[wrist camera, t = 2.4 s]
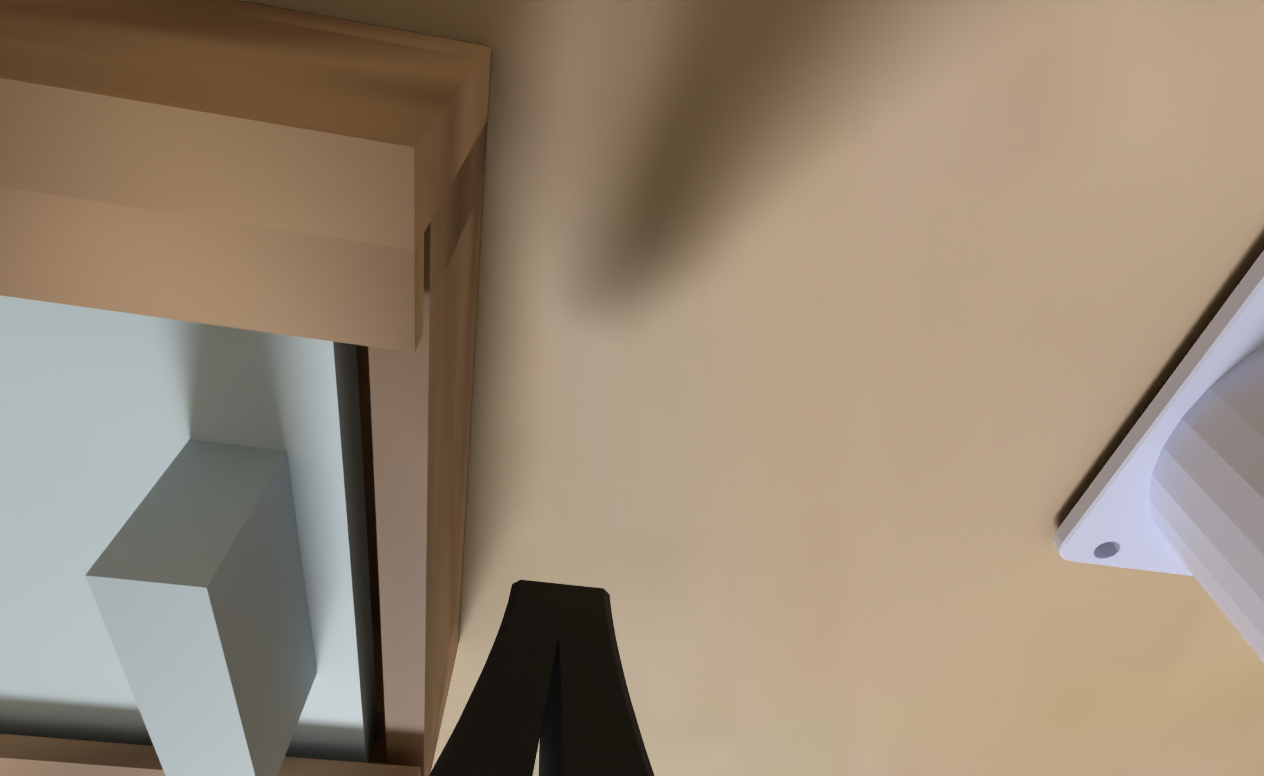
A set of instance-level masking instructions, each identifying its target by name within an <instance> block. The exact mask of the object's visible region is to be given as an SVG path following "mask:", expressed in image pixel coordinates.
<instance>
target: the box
mask: <svg viewBox="0 0 1264 776" xmlns="http://www.w3.org/2000/svg"><path fill="white" fill-rule="evenodd" d="M490 64H491V47H489V46H484V45H479V44H473V43H468V42H462V41H457V40H451V39H446V38H441V37H435V36H430V35H424V34H419V33H413V32H408V31H403V30H397V29H392V28H386V27H381V26H375V25H370V24H364V23H359V22H354V21H348V20H343V19H337V18H332V17H326V16H321V15H316V14H310V13H305V12H299V11H294V10H288V9H283V8H278V7H272V6H267V5H261V4H256V3H250V2H245V1H240V0H0V295H1V296H8V297H16V298H23V299H30V300H37V301H44V302H52V303H59V304H66V305H73V306H81V307H88V308H95V309H102V310H109V311H117V312H124V313H131V314H138V315H146V316H153V317H160V318H167V319H174V320H182V321H189V322H196V323H203V324H211V325H218V326H225V327H232V328H239V329H247V330H254V331H261V332H268V333H276V334H283V335H290V336H297V337H304V338H312V339H319V340H326V341H333V342H341V343H348V344H355V345H356V350H357V368H358V385H359V403H360V420H361V438H362V456H363V473H364V491H365V508H366V526H367V544H368V561H369V579H370V596H371V614H372V632H373V649H374V667H375V684H376V702H377V720H378V733H377V736H376V740H375V743H374V747H373V750H372V754H371V757H370V761H369V763H362V762H349V761H337V760H324V759H311V758H299V757H286V756H285V757H284V760H283V762H282V765H281V767H280V770H279V773H278V775H277V776H429V775H430V773H431V768H432V764H433V759H434V754H435V750H436V745H437V741H438V736H439V731H440V727H441V722H442V718H443V713H444V708H445V704H446V699H447V695H448V690H449V685H450V681H451V676H452V671H453V667H454V662H455V658H456V653H457V648H458V638H459V620H460V602H461V584H462V566H463V548H464V530H465V512H466V494H467V476H468V458H469V440H470V422H471V405H472V387H473V369H474V351H475V333H476V315H477V297H478V279H479V261H480V243H481V225H482V207H483V189H484V171H485V153H486V135H487V118H488V100H489V82H490ZM0 776H166V775H165V773H164V770H163V768H162V765H161V763H160V760H159V758H158V755H157V753H156V750H155V748H154V746H148V745H135V744H123V743H110V742H98V741H85V740H72V739H60V738H47V737H35V736H22V735H9V734H0Z"/></svg>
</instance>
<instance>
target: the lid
mask: <svg viewBox="0 0 1264 776" xmlns="http://www.w3.org/2000/svg"><path fill="white" fill-rule="evenodd" d="M377 733H378V720H377V702H376V684H375V667H374V649H373V632H372V614H371V596H370V579H369V561H368V544H367V526H366V508H365V491H364V473H363V456H362V438H361V420H360V403H359V385H358V368H357V350H356V345H355V344H348V343H341V342H333V341H326V340H319V339H312V338H304V337H297V336H290V335H283V334H276V333H268V332H261V331H254V330H247V329H239V328H232V327H225V326H218V325H211V324H203V323H196V322H189V321H182V320H174V319H167V318H160V317H153V316H146V315H138V314H131V313H124V312H117V311H109V310H102V309H95V308H88V307H81V306H73V305H66V304H59V303H52V302H44V301H37V300H30V299H23V298H16V297H8V296H1V295H0V734H9V735H22V736H35V737H47V738H60V739H72V740H85V741H98V742H110V743H123V744H135V745H148V746H154V748H155V750H156V753H157V755H158V758H159V760H160V763H161V765H162V768H163V770H164V773H165V775H166V776H277V775H278V773H279V770H280V767H281V765H282V762H283V760H284V757H285V756H286V757H299V758H311V759H324V760H337V761H349V762H362V763H369V761H370V757H371V754H372V750H373V747H374V743H375V740H376V736H377Z"/></svg>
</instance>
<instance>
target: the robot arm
mask: <svg viewBox="0 0 1264 776" xmlns="http://www.w3.org/2000/svg"><path fill="white" fill-rule="evenodd" d="M1053 545H1054V546H1055V548H1056V549H1057V551H1058V553H1059V554H1060V555H1061V556H1062V557H1063V558H1064V559H1065V560H1069V561H1073V562H1081V563H1089V564H1098V565H1106V566H1114V567H1123V568H1131V569H1139V570H1148V571H1156V572H1164V573H1173V574H1181V575H1189V576H1194V577H1195V578H1196V580H1197V581H1198V582H1199V583H1200V585H1201V586H1202V587H1203V588H1204V590H1205V591H1206V592H1207V593H1208V595H1209V596H1210V597H1211V598H1212V600H1213V601H1214V602H1215V603H1216V605H1217V606H1218V607H1219V608H1220V610H1221V611H1222V612H1223V613H1224V615H1225V616H1226V617H1227V618H1228V620H1229V621H1230V622H1231V623H1232V625H1233V626H1234V627H1235V628H1236V629H1237V631H1238V632H1239V633H1240V634H1241V636H1242V637H1243V638H1244V639H1245V641H1246V642H1247V643H1248V644H1249V646H1250V647H1251V648H1252V649H1253V651H1254V652H1255V653H1256V654H1257V656H1258V657H1259V658H1260V659H1261V661H1262V662H1263V663H1264V250H1263V252H1262V253H1261V254H1260V256H1259V257H1258V258H1257V260H1256V261H1255V263H1254V264H1253V265H1252V267H1251V268H1250V269H1249V271H1248V272H1247V273H1246V275H1245V276H1244V277H1243V279H1242V280H1241V281H1240V283H1239V284H1238V286H1237V287H1236V288H1235V290H1234V291H1233V292H1232V294H1231V295H1230V296H1229V298H1228V299H1227V300H1226V302H1225V303H1224V305H1223V306H1222V307H1221V309H1220V310H1219V311H1218V313H1217V314H1216V315H1215V317H1214V318H1213V319H1212V321H1211V322H1210V323H1209V325H1208V326H1207V328H1206V329H1205V330H1204V332H1203V333H1202V334H1201V336H1200V337H1199V338H1198V340H1197V341H1196V342H1195V344H1194V345H1193V347H1192V348H1191V349H1190V351H1189V352H1188V353H1187V355H1186V356H1185V357H1184V359H1183V360H1182V361H1181V363H1180V364H1179V365H1178V367H1177V368H1176V370H1175V371H1174V372H1173V374H1172V375H1171V376H1170V378H1169V379H1168V380H1167V382H1166V383H1165V384H1164V386H1163V387H1162V389H1161V390H1160V391H1159V393H1158V394H1157V395H1156V397H1155V398H1154V399H1153V401H1152V402H1151V403H1150V405H1149V406H1148V408H1147V409H1146V410H1145V412H1144V413H1143V414H1142V416H1141V417H1140V418H1139V420H1138V421H1137V422H1136V424H1135V425H1134V426H1133V428H1132V429H1131V431H1130V432H1129V433H1128V435H1127V436H1126V437H1125V439H1124V440H1123V441H1122V443H1121V444H1120V445H1119V447H1118V448H1117V450H1116V451H1115V452H1114V454H1113V455H1112V456H1111V458H1110V459H1109V460H1108V462H1107V463H1106V464H1105V466H1104V467H1103V468H1102V470H1101V471H1100V473H1099V474H1098V475H1097V477H1096V478H1095V479H1094V481H1093V482H1092V483H1091V485H1090V486H1089V487H1088V489H1087V490H1086V492H1085V493H1084V494H1083V496H1082V497H1081V498H1080V500H1079V501H1078V502H1077V504H1076V505H1075V506H1074V508H1073V509H1072V510H1071V512H1070V513H1069V515H1068V516H1067V517H1066V519H1065V520H1064V521H1063V523H1062V524H1061V525H1060V527H1059V528H1058V529H1057V531H1056V532H1055V534H1054V537H1053ZM539 738H540V748H539V776H654V773H653V770H652V767H651V764H650V761H649V758H648V755H647V752H646V749H645V746H644V743H643V740H642V736H641V733H640V730H639V726H638V723H637V720H636V716H635V713H634V710H633V706H632V703H631V700H630V696H629V692H628V688H627V685H626V681H625V677H624V673H623V668H622V664H621V660H620V656H619V651H618V646H617V642H616V637H615V631H614V626H613V619H612V613H611V605H610V595H609V594H608V593H607V592H606V591H605V590H604V589H602V588H593V587H583V586H574V585H564V584H555V583H546V582H536V581H527V580H519V581H518V582H516V583H514V584H512V588H511V592H510V596H509V601H508V604H507V607H506V611H505V614H504V617H503V620H502V623H501V626H500V629H499V631H498V634H497V637H496V639H495V642H494V644H493V647H492V649H491V651H490V654H489V656H488V659H487V661H486V664H485V666H484V668H483V671H482V673H481V675H480V677H479V679H478V681H477V683H476V685H475V687H474V690H473V692H472V694H471V696H470V698H469V700H468V702H467V704H466V706H465V709H464V711H463V713H462V715H461V717H460V719H459V721H458V723H457V725H456V727H455V729H454V731H453V733H452V735H451V736H450V738H449V740H448V742H447V744H446V746H445V747H444V749H443V751H442V753H441V755H440V757H439V758H438V760H437V762H436V764H435V766H434V768H433V769H432V771H431V773H430V775H429V776H532V775H533V770H534V764H535V759H536V754H537V749H538V743H539Z"/></svg>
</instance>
